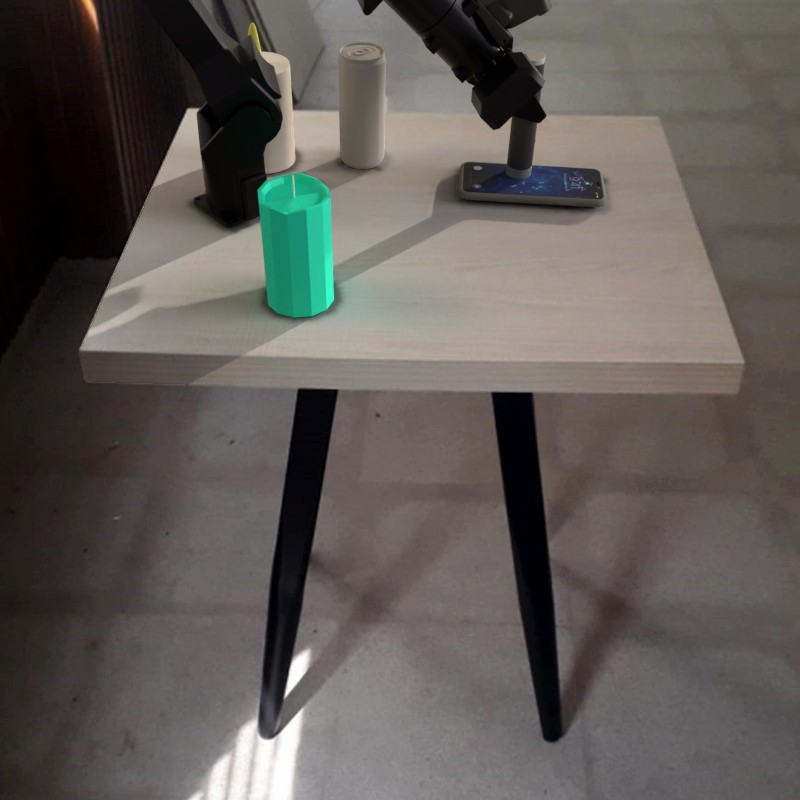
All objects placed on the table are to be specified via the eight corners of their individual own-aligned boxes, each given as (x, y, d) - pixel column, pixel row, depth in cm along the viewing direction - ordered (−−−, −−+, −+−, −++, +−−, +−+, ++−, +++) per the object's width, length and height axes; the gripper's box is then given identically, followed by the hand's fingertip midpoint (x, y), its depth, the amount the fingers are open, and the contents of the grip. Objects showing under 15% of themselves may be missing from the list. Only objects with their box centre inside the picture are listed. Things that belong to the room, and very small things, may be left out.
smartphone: (460, 159, 102) (602, 167, 101) (460, 167, 102) (600, 175, 102) (458, 193, 96) (608, 202, 95) (457, 202, 97) (606, 210, 96)
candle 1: (300, 146, 105) (293, 8, 95) (289, 175, 100) (280, 33, 90) (244, 142, 106) (231, 4, 96) (230, 171, 101) (214, 29, 91)
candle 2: (274, 275, 87) (264, 154, 79) (339, 280, 87) (335, 160, 78) (259, 314, 82) (247, 191, 74) (328, 320, 82) (323, 197, 74)
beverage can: (331, 159, 103) (327, 49, 95) (364, 145, 106) (364, 37, 98) (359, 176, 101) (359, 64, 93) (393, 161, 103) (395, 52, 95)
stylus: (505, 182, 99) (518, 60, 90) (505, 170, 101) (518, 49, 92) (530, 184, 99) (545, 61, 90) (530, 171, 101) (545, 50, 92)
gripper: (534, -28, 77) (637, 94, 86) (475, -94, 90) (569, 17, 99) (434, 74, 81) (543, 180, 90) (392, -5, 94) (490, 95, 103)
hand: (538, 112), depth 96 cm, fingers closed on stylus, 2 cm apart
